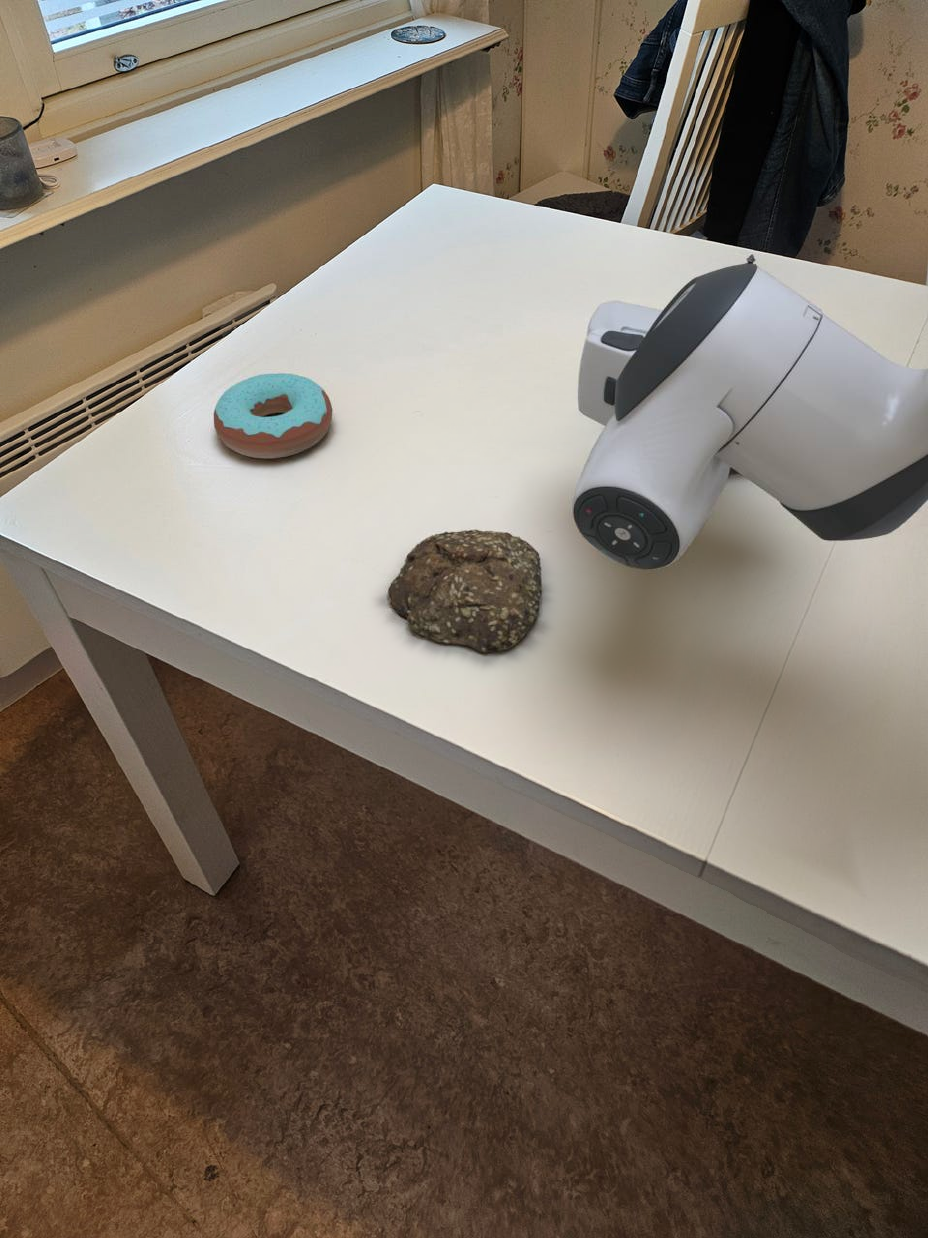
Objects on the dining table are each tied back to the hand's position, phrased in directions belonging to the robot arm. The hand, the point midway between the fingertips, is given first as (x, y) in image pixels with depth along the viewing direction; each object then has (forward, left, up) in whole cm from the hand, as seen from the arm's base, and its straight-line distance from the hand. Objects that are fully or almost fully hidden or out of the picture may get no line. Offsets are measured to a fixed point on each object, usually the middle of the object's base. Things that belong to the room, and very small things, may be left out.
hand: (738, 316), depth 71 cm
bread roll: (+25, +11, -17) cm, 32 cm away
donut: (+40, -16, -17) cm, 46 cm away
